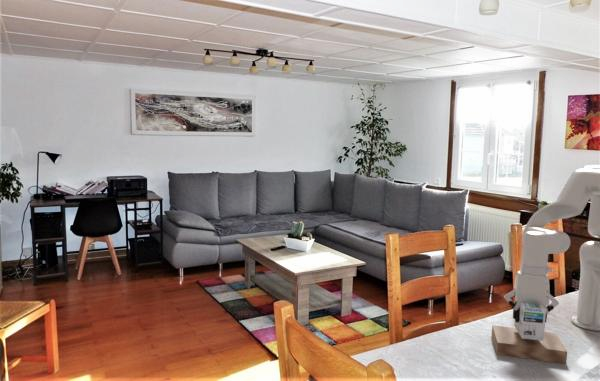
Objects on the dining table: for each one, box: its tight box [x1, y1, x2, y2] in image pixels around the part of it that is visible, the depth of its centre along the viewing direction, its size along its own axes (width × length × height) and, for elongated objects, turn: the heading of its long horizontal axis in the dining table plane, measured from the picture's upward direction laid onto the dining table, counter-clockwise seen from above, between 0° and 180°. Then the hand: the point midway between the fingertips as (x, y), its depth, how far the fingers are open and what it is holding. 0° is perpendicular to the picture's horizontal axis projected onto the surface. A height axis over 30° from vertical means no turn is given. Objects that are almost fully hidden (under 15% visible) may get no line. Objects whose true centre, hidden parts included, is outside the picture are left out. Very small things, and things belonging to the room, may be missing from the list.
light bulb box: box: [513, 303, 546, 341], centre depth 152 cm, size 11×7×11 cm, turn 168°
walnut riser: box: [491, 325, 568, 365], centre depth 153 cm, size 20×14×4 cm
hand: (529, 322), depth 152 cm, fingers closed on light bulb box, 7 cm apart
